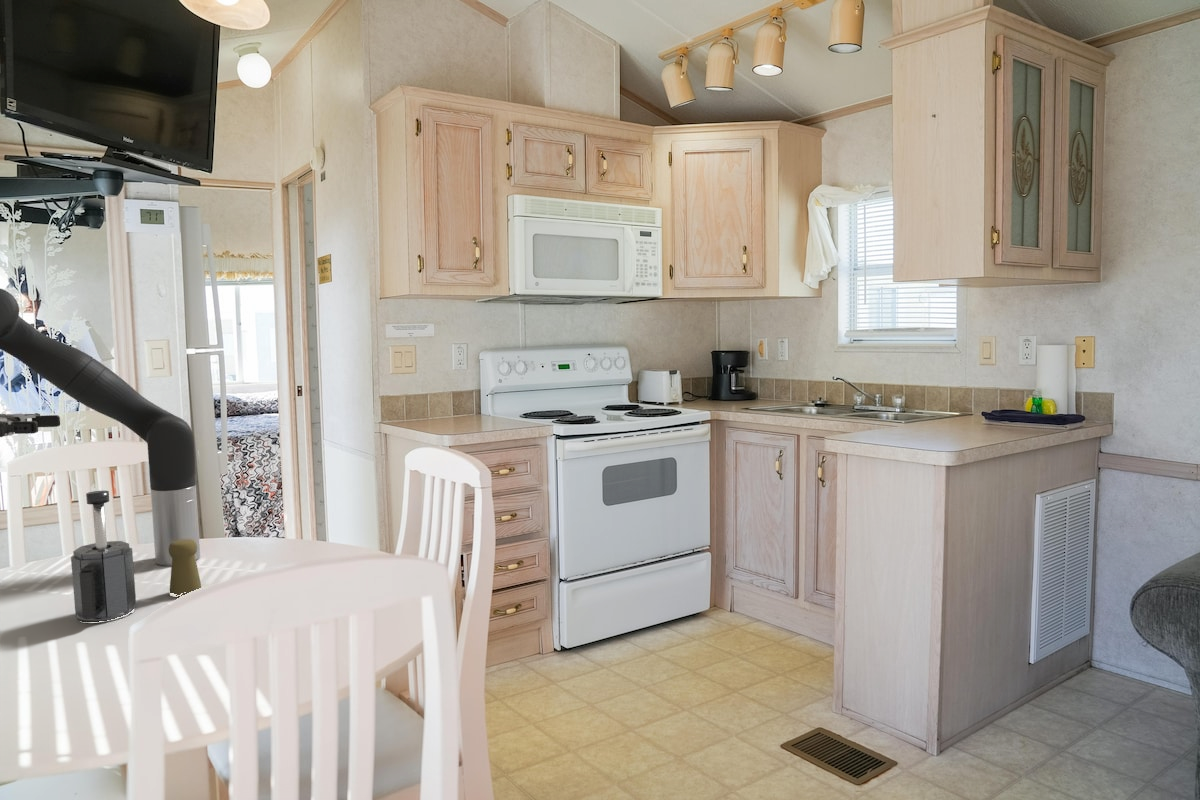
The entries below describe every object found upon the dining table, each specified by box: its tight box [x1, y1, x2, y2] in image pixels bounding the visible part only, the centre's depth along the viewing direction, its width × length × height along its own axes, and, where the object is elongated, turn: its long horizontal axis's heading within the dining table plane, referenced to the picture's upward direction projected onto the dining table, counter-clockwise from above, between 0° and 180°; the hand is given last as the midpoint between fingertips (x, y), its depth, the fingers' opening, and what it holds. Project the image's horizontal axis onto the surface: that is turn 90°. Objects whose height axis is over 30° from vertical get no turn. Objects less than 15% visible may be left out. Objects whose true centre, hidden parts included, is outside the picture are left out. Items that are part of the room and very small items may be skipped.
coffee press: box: [70, 540, 137, 622], centre depth 153 cm, size 12×9×13 cm
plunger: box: [85, 490, 110, 550], centre depth 154 cm, size 6×6×21 cm
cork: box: [169, 539, 202, 599], centre depth 167 cm, size 6×6×11 cm
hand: (48, 423), depth 156 cm, fingers open, 8 cm apart
